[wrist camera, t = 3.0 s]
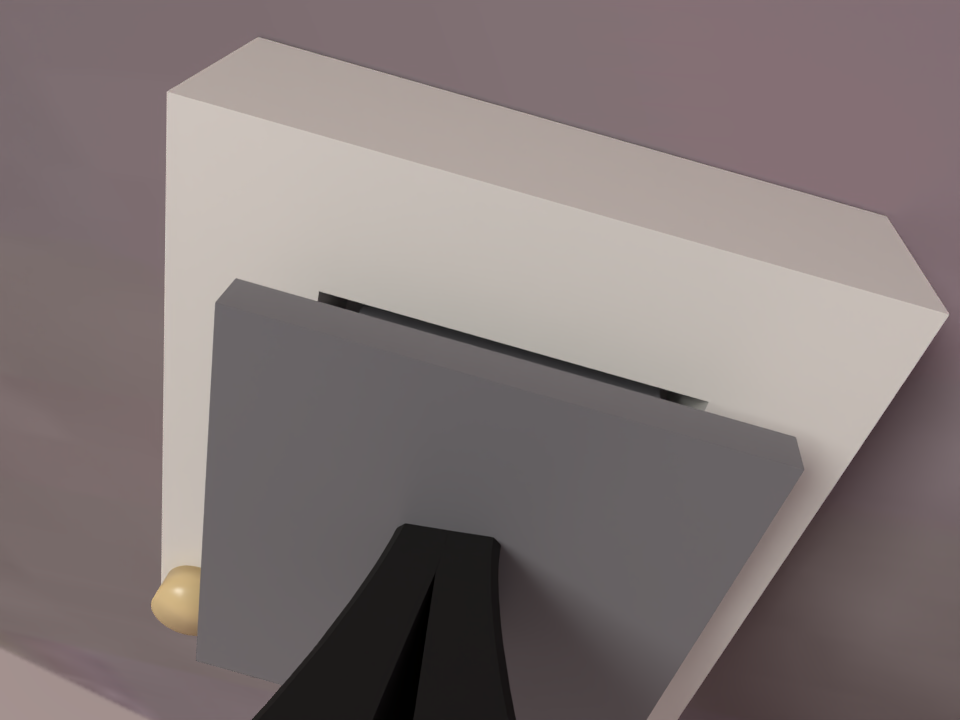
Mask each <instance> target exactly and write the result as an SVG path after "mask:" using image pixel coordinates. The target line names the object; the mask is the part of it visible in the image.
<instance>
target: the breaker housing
mask: <svg viewBox="0 0 960 720" xmlns="http://www.w3.org/2000/svg"><path fill="white" fill-rule="evenodd" d="M236 278H237V279H241V280H244V281H248V282H251V283H255V284H259V285H262V286H266V287H269V288H273V289H276V290H280V291H283V292H287V293H290V294H294V295H297V296H301V297H304V298H308V299H311V300H315V301H318V302H322V303H325V304H329V305H333V306H336V307H340V308H343V309H347V310H350V311H354V312H357V313H359V311H360V309H361V308H362V306H363V304H366V305H369V306H373V307H376V308H380V309H383V310H387V311H390V312H394V313H397V314H401V315H404V316H408V317H411V318H415V319H419V320H422V321H426V322H429V323H433V324H436V325H440V326H443V327H447V328H450V329H454V330H457V331H461V332H464V333H468V334H471V335H475V336H478V337H482V338H485V339H489V340H493V341H496V342H500V343H503V344H507V345H510V346H514V347H517V348H521V349H524V350H528V351H531V352H535V353H538V354H542V355H545V356H549V357H552V358H556V359H559V360H563V361H567V362H570V363H574V364H577V365H581V366H584V367H588V368H591V369H595V370H598V371H602V372H605V373H609V374H612V375H616V376H619V377H623V378H626V379H630V380H633V381H637V382H640V383H644V384H648V385H651V386H655V387H658V388H660V399H664V400H667V401H671V402H674V403H678V404H681V405H685V406H688V407H692V408H696V409H699V410H703V411H706V412H710V413H713V414H717V415H720V416H724V417H727V418H731V419H734V420H738V421H741V422H745V423H748V424H752V425H755V426H759V427H762V428H766V429H770V430H773V431H777V432H780V433H784V434H787V435H791V436H794V437H796V439H797V443H798V447H799V451H800V454H801V458H802V462H803V466H804V469H805V470H804V471H803V473H802V475H801V476H800V478H799V479H798V481H797V483H796V484H795V486H794V487H793V489H792V490H791V492H790V494H789V495H788V497H787V498H786V500H785V501H784V503H783V505H782V506H781V508H780V509H779V511H778V513H777V514H776V516H775V517H774V519H773V520H772V522H771V524H770V525H769V527H768V528H767V530H766V532H765V533H764V535H763V536H762V538H761V539H760V541H759V543H758V544H757V546H756V547H755V549H754V551H753V552H752V554H751V555H750V557H749V558H748V560H747V562H746V563H745V565H744V566H743V568H742V570H741V571H740V573H739V574H738V576H737V577H736V579H735V581H734V582H733V584H732V585H731V587H730V589H729V590H728V592H727V593H726V595H725V596H724V598H723V600H722V601H721V603H720V604H719V606H718V607H717V609H716V611H715V612H714V614H713V615H712V617H711V619H710V620H709V622H708V623H707V625H706V626H705V628H704V630H703V631H702V633H701V634H700V636H699V638H698V639H697V641H696V642H695V644H694V645H693V647H692V649H691V650H690V652H689V653H688V655H687V657H686V658H685V660H684V661H683V663H682V664H681V666H680V668H679V669H678V671H677V672H676V674H675V676H674V677H673V679H672V680H671V682H670V683H669V685H668V687H667V688H666V690H665V691H664V693H663V695H662V696H661V698H660V699H659V701H658V702H657V704H656V706H655V707H654V709H653V710H652V712H651V713H650V715H649V717H648V718H647V720H678V718H679V717H680V715H681V714H682V712H683V711H684V709H685V708H686V706H687V705H688V703H689V702H690V700H691V699H692V697H693V696H694V694H695V693H696V691H697V690H698V688H699V687H700V685H701V684H702V682H703V681H704V679H705V678H706V676H707V675H708V673H709V672H710V670H711V669H712V667H713V666H714V664H715V663H716V661H717V660H718V659H719V657H720V656H721V654H722V653H723V651H724V650H725V648H726V647H727V645H728V644H729V642H730V641H731V639H732V638H733V636H734V635H735V633H736V632H737V630H738V629H739V627H740V626H741V624H742V623H743V621H744V620H745V618H746V617H747V615H748V614H749V612H750V611H751V609H752V608H753V606H754V605H755V603H756V602H757V600H758V599H759V597H760V596H761V594H762V593H763V591H764V590H765V589H766V587H767V586H768V584H769V583H770V581H771V580H772V578H773V577H774V575H775V574H776V572H777V571H778V569H779V568H780V566H781V565H782V563H783V562H784V560H785V559H786V557H787V556H788V554H789V553H790V551H791V550H792V548H793V547H794V545H795V544H796V542H797V541H798V539H799V538H800V536H801V535H802V533H803V532H804V530H805V529H806V527H807V526H808V524H809V523H810V521H811V520H812V519H813V517H814V516H815V514H816V513H817V511H818V510H819V508H820V507H821V505H822V504H823V502H824V501H825V499H826V498H827V496H828V495H829V493H830V492H831V490H832V489H833V487H834V486H835V484H836V483H837V481H838V480H839V478H840V477H841V475H842V474H843V472H844V471H845V469H846V468H847V466H848V465H849V463H850V462H851V460H852V459H853V457H854V456H855V454H856V453H857V451H858V450H859V449H860V447H861V446H862V444H863V443H864V441H865V440H866V438H867V437H868V435H869V434H870V432H871V431H872V429H873V428H874V426H875V425H876V423H877V422H878V420H879V419H880V417H881V416H882V414H883V413H884V411H885V410H886V408H887V407H888V405H889V404H890V402H891V401H892V399H893V398H894V396H895V395H896V393H897V392H898V390H899V389H900V387H901V386H902V384H903V383H904V381H905V380H906V379H907V377H908V376H909V374H910V373H911V371H912V370H913V368H914V367H915V365H916V364H917V362H918V361H919V359H920V358H921V356H922V355H923V353H924V352H925V350H926V349H927V347H928V346H929V344H930V343H931V341H932V340H933V338H934V337H935V335H936V334H937V332H938V331H939V329H940V328H941V326H942V325H943V323H944V322H945V320H946V319H947V317H948V316H949V313H948V311H947V310H946V308H945V307H944V305H943V304H942V302H941V301H940V299H939V297H938V296H937V294H936V293H935V291H934V290H933V288H932V286H931V285H930V283H929V282H928V280H927V279H926V277H925V276H924V274H923V272H922V271H921V269H920V268H919V266H918V265H917V263H916V261H915V260H914V258H913V257H912V255H911V254H910V252H909V251H908V249H907V247H906V246H905V244H904V243H903V241H902V240H901V238H900V236H899V235H898V233H897V232H896V230H895V229H894V227H893V225H892V224H891V222H890V221H889V219H888V218H887V216H883V215H880V214H876V213H873V212H869V211H866V210H862V209H859V208H855V207H852V206H848V205H845V204H841V203H838V202H834V201H831V200H827V199H824V198H820V197H817V196H813V195H810V194H806V193H803V192H799V191H796V190H792V189H789V188H785V187H782V186H778V185H775V184H771V183H768V182H764V181H761V180H757V179H754V178H750V177H747V176H743V175H740V174H736V173H733V172H729V171H726V170H722V169H719V168H715V167H712V166H708V165H705V164H701V163H698V162H694V161H691V160H687V159H684V158H680V157H677V156H673V155H670V154H666V153H663V152H659V151H656V150H652V149H649V148H645V147H642V146H638V145H635V144H631V143H628V142H624V141H621V140H617V139H614V138H610V137H607V136H603V135H600V134H596V133H593V132H589V131H586V130H582V129H579V128H575V127H572V126H568V125H565V124H561V123H558V122H554V121H551V120H547V119H544V118H540V117H537V116H533V115H530V114H526V113H523V112H519V111H516V110H512V109H509V108H505V107H502V106H498V105H495V104H491V103H488V102H484V101H481V100H477V99H474V98H470V97H467V96H463V95H460V94H456V93H453V92H449V91H446V90H442V89H439V88H435V87H432V86H428V85H425V84H421V83H418V82H414V81H411V80H407V79H404V78H400V77H397V76H393V75H390V74H386V73H383V72H379V71H376V70H372V69H369V68H365V67H362V66H358V65H355V64H351V63H348V62H344V61H341V60H337V59H334V58H330V57H327V56H323V55H320V54H316V53H313V52H309V51H306V50H302V49H299V48H295V47H292V46H288V45H285V44H281V43H278V42H274V41H271V40H267V39H264V38H260V37H257V38H256V39H254V40H252V41H251V42H249V43H247V44H246V45H244V46H242V47H241V48H239V49H237V50H236V51H234V52H232V53H231V54H229V55H227V56H226V57H224V58H222V59H221V60H219V61H217V62H216V63H214V64H212V65H211V66H209V67H207V68H206V69H204V70H202V71H201V72H199V73H197V74H196V75H194V76H192V77H191V78H189V79H187V80H186V81H184V82H182V83H181V84H179V85H177V86H176V87H174V88H172V89H170V90H169V91H167V136H166V222H165V308H164V394H163V480H162V566H161V586H160V588H159V589H158V591H157V593H156V594H155V596H154V598H153V599H152V602H151V608H152V611H153V613H154V615H155V616H156V618H157V619H158V620H159V621H160V622H161V623H162V624H164V625H165V626H167V627H168V628H170V629H172V630H174V631H176V632H179V633H182V634H186V635H193V636H197V630H198V611H199V593H200V574H201V555H202V537H203V518H204V500H205V481H206V462H207V444H208V425H209V406H210V388H211V369H212V351H213V332H214V313H215V302H216V301H217V300H218V299H219V297H220V296H221V295H222V294H223V293H224V291H225V290H226V289H227V288H228V287H229V286H230V284H231V283H232V282H233V281H234V280H235V279H236Z"/></svg>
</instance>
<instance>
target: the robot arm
mask: <svg viewBox="0 0 960 720" xmlns="http://www.w3.org/2000/svg"><path fill="white" fill-rule="evenodd" d="M500 549H501V544H500V543H499V542H498V541H497V540H496V539H495V538H494V537H489V536H483V535H476V534H470V533H463V532H457V531H451V530H444V529H438V528H432V527H426V526H419V525H413V524H407V523H405V524H403V525H401V526H399V527H397V528H396V530H395V532H394V534H393V536H392V538H391V539H390V541H389V543H388V544H387V546H386V548H385V549H384V551H383V553H382V554H381V556H380V557H379V559H378V561H377V562H376V564H375V565H374V567H373V568H372V570H371V571H370V573H369V574H368V576H367V577H366V579H365V580H364V581H363V583H362V584H361V586H360V587H359V589H358V590H357V591H356V593H355V594H354V596H353V597H352V599H351V600H350V601H349V603H348V604H347V605H346V607H345V608H344V609H343V611H342V612H341V613H340V615H339V616H338V617H337V618H336V620H335V621H334V622H333V624H332V625H331V626H330V628H329V629H328V630H327V632H326V633H325V634H324V636H323V637H322V638H321V640H320V641H319V642H318V643H317V645H316V646H315V647H314V648H313V650H312V651H311V652H310V653H309V655H308V656H307V657H306V658H305V659H304V660H303V662H302V663H301V664H300V665H299V666H298V667H297V669H296V670H295V671H294V672H293V673H292V674H291V676H290V677H289V678H288V679H287V680H286V681H285V683H284V684H283V685H282V686H281V687H280V689H279V690H278V691H277V692H276V693H275V694H274V696H273V697H272V698H271V699H270V700H269V701H268V702H267V704H266V705H265V706H264V707H263V708H262V709H261V710H260V711H259V712H258V713H257V714H256V716H255V717H254V718H253V719H252V720H516V717H515V712H514V706H513V701H512V696H511V691H510V684H509V678H508V672H507V665H506V659H505V652H504V646H503V637H502V629H501V618H500V605H499V585H498V571H499V558H500Z"/></svg>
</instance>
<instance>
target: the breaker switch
mask: <svg viewBox="0 0 960 720" xmlns="http://www.w3.org/2000/svg"><path fill="white" fill-rule="evenodd" d="M804 470H805V469H804V466H803V462H802V458H801V454H800V451H799V447H798V443H797V439H796V437H794V436H791V435H787V434H784V433H780V432H777V431H773V430H770V429H766V428H762V427H759V426H755V425H752V424H748V423H745V422H741V421H738V420H734V419H731V418H727V417H724V416H720V415H717V414H713V413H710V412H706V411H703V410H699V409H696V408H692V407H688V406H685V405H681V404H678V403H674V402H671V401H667V400H664V399H660V388H658V387H655V386H651V385H648V384H644V383H640V382H637V381H633V380H630V379H626V378H623V377H619V376H616V375H612V374H609V373H605V372H602V371H598V370H595V369H591V368H588V367H584V366H581V365H577V364H574V363H570V362H567V361H563V360H559V359H556V358H552V357H549V356H545V355H542V354H538V353H535V352H531V351H528V350H524V349H521V348H517V347H514V346H510V345H507V344H503V343H500V342H496V341H493V340H489V339H485V338H482V337H478V336H475V335H471V334H468V333H464V332H461V331H457V330H454V329H450V328H447V327H443V326H440V325H436V324H433V323H429V322H426V321H422V320H419V319H415V318H411V317H408V316H404V315H401V314H397V313H394V312H390V311H387V310H383V309H380V308H376V307H373V306H369V305H366V304H363V306H362V308H361V309H360V311H359V313H357V312H354V311H350V310H347V309H343V308H340V307H336V306H333V305H329V304H325V303H322V302H318V301H315V300H311V299H308V298H304V297H301V296H297V295H294V294H290V293H287V292H283V291H280V290H276V289H273V288H269V287H266V286H262V285H259V284H255V283H251V282H248V281H244V280H241V279H237V278H236V279H235V280H234V281H233V282H232V283H231V284H230V286H229V287H228V288H227V289H226V290H225V291H224V293H223V294H222V295H221V296H220V297H219V299H218V300H217V301H216V302H215V313H214V332H213V351H212V369H211V388H210V406H209V425H208V444H207V462H206V481H205V500H204V518H203V537H202V555H201V574H200V593H199V611H198V630H197V649H196V661H198V662H202V663H205V664H209V665H212V666H216V667H220V668H223V669H227V670H230V671H234V672H237V673H241V674H244V675H248V676H252V677H255V678H259V679H262V680H266V681H269V682H273V683H277V684H280V685H283V684H284V683H285V681H286V680H287V679H288V678H289V677H290V676H291V674H292V673H293V672H294V671H295V670H296V669H297V667H298V666H299V665H300V664H301V663H302V662H303V660H304V659H305V658H306V657H307V656H308V655H309V653H310V652H311V651H312V650H313V648H314V647H315V646H316V645H317V643H318V642H319V641H320V640H321V638H322V637H323V636H324V634H325V633H326V632H327V630H328V629H329V628H330V626H331V625H332V624H333V622H334V621H335V620H336V618H337V617H338V616H339V615H340V613H341V612H342V611H343V609H344V608H345V607H346V605H347V604H348V603H349V601H350V600H351V599H352V597H353V596H354V594H355V593H356V591H357V590H358V589H359V587H360V586H361V584H362V583H363V581H364V580H365V579H366V577H367V576H368V574H369V573H370V571H371V570H372V568H373V567H374V565H375V564H376V562H377V561H378V559H379V557H380V556H381V554H382V553H383V551H384V549H385V548H386V546H387V544H388V543H389V541H390V539H391V538H392V536H393V534H394V532H395V530H396V528H397V527H399V526H401V525H403V524H405V523H407V524H413V525H419V526H426V527H432V528H438V529H444V530H451V531H457V532H463V533H470V534H476V535H483V536H489V537H494V538H495V539H496V540H497V541H498V542H499V543H500V544H501V549H500V558H499V571H498V585H499V605H500V618H501V629H502V637H503V646H504V652H505V659H506V665H507V672H508V678H509V684H510V691H511V696H512V701H513V706H514V712H515V717H516V720H647V718H648V717H649V715H650V713H651V712H652V710H653V709H654V707H655V706H656V704H657V702H658V701H659V699H660V698H661V696H662V695H663V693H664V691H665V690H666V688H667V687H668V685H669V683H670V682H671V680H672V679H673V677H674V676H675V674H676V672H677V671H678V669H679V668H680V666H681V664H682V663H683V661H684V660H685V658H686V657H687V655H688V653H689V652H690V650H691V649H692V647H693V645H694V644H695V642H696V641H697V639H698V638H699V636H700V634H701V633H702V631H703V630H704V628H705V626H706V625H707V623H708V622H709V620H710V619H711V617H712V615H713V614H714V612H715V611H716V609H717V607H718V606H719V604H720V603H721V601H722V600H723V598H724V596H725V595H726V593H727V592H728V590H729V589H730V587H731V585H732V584H733V582H734V581H735V579H736V577H737V576H738V574H739V573H740V571H741V570H742V568H743V566H744V565H745V563H746V562H747V560H748V558H749V557H750V555H751V554H752V552H753V551H754V549H755V547H756V546H757V544H758V543H759V541H760V539H761V538H762V536H763V535H764V533H765V532H766V530H767V528H768V527H769V525H770V524H771V522H772V520H773V519H774V517H775V516H776V514H777V513H778V511H779V509H780V508H781V506H782V505H783V503H784V501H785V500H786V498H787V497H788V495H789V494H790V492H791V490H792V489H793V487H794V486H795V484H796V483H797V481H798V479H799V478H800V476H801V475H802V473H803V471H804Z"/></svg>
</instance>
